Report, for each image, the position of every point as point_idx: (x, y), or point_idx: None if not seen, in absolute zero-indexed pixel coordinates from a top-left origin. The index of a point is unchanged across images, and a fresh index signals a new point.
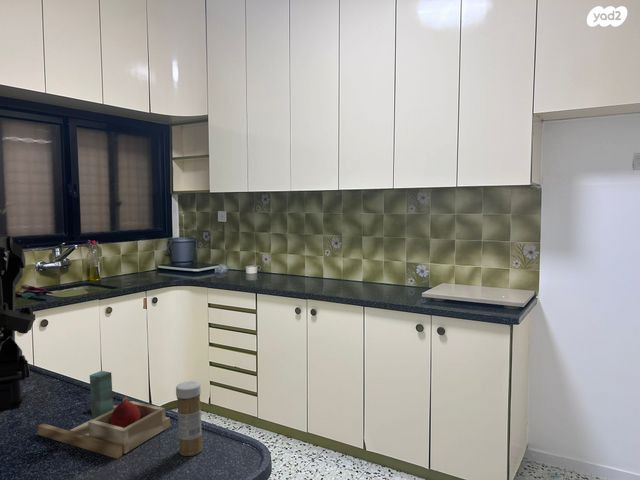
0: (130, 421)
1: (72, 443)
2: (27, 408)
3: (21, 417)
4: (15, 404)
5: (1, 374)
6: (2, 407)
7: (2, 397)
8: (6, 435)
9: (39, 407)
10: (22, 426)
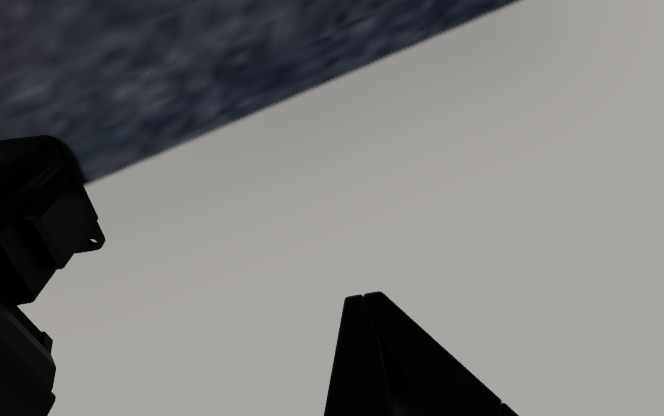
0: None
1: None
2: (60, 88)
3: (175, 74)
4: (39, 161)
5: (4, 311)
6: (89, 200)
7: (68, 223)
8: (360, 64)
9: (41, 23)
10: (283, 26)
